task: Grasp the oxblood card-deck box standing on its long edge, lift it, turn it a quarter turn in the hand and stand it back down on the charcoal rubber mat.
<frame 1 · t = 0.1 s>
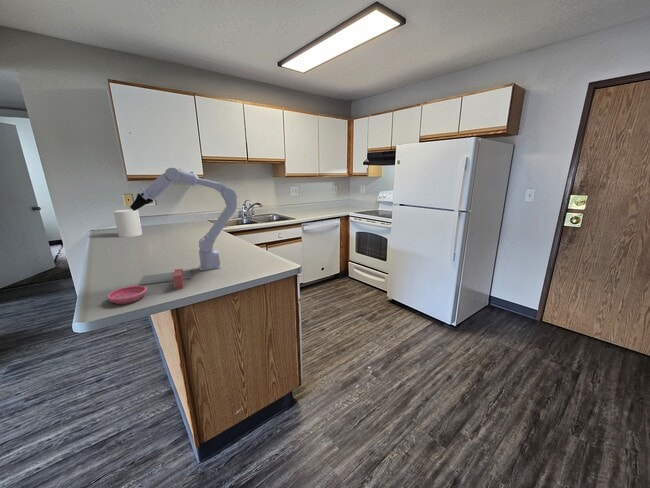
hand: (133, 208, 119), 32 cm above the countertop, tool tilted 50°, fingers open, 7 cm apart
saucer: (129, 299, 102), on the countertop
mat: (167, 277, 123), on the countertop
canister: (130, 235, 216), on the countertop
deck box: (179, 285, 115), on the countertop
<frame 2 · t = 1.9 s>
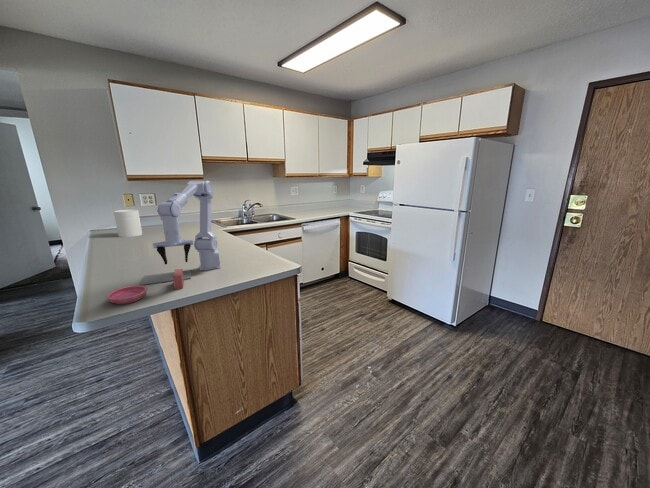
hand: (176, 262, 113), 10 cm above the countertop, tool pointing down, fingers open, 7 cm apart
nothing on the countertop moved.
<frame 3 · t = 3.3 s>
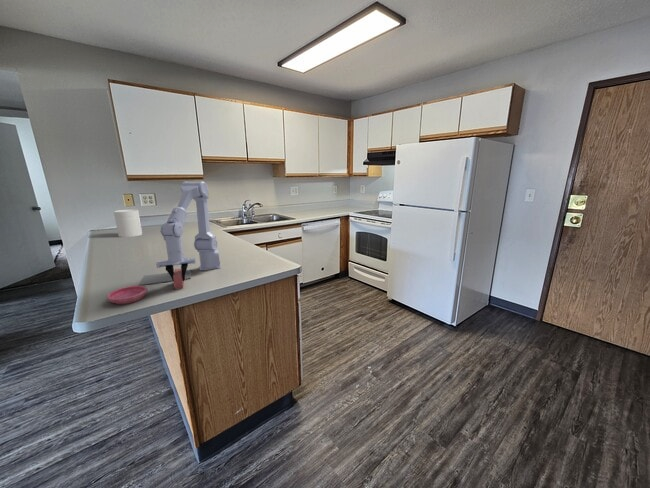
hand: (179, 280, 115), 2 cm above the countertop, tool pointing down, fingers closed on deck box, 3 cm apart
deck box: (179, 285, 115), on the countertop, touching gripper
everything else where it was.
when the fingers open (3 cm above the countertop, at t = 8.2 s): deck box stays where it is, resting on mat.
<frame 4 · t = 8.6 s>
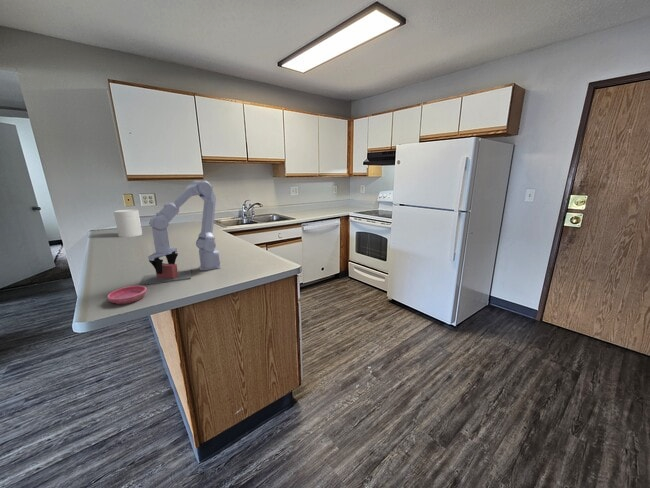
hand: (166, 270, 122), 3 cm above the countertop, tool pointing down, fingers open, 7 cm apart
deck box: (167, 276, 123), resting on mat
everything else where it was.
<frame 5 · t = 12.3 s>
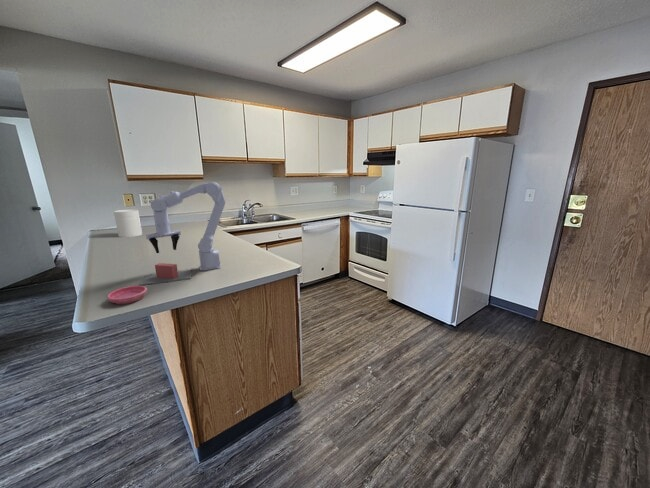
hand: (166, 251, 130), 10 cm above the countertop, tool pointing down, fingers open, 7 cm apart
nothing on the countertop moved.
at the end: deck box 0.4 cm off-centre on the mat, point 0.5 cm above the mat's base; deck box tilted 0°; the gripper is holding nothing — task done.
